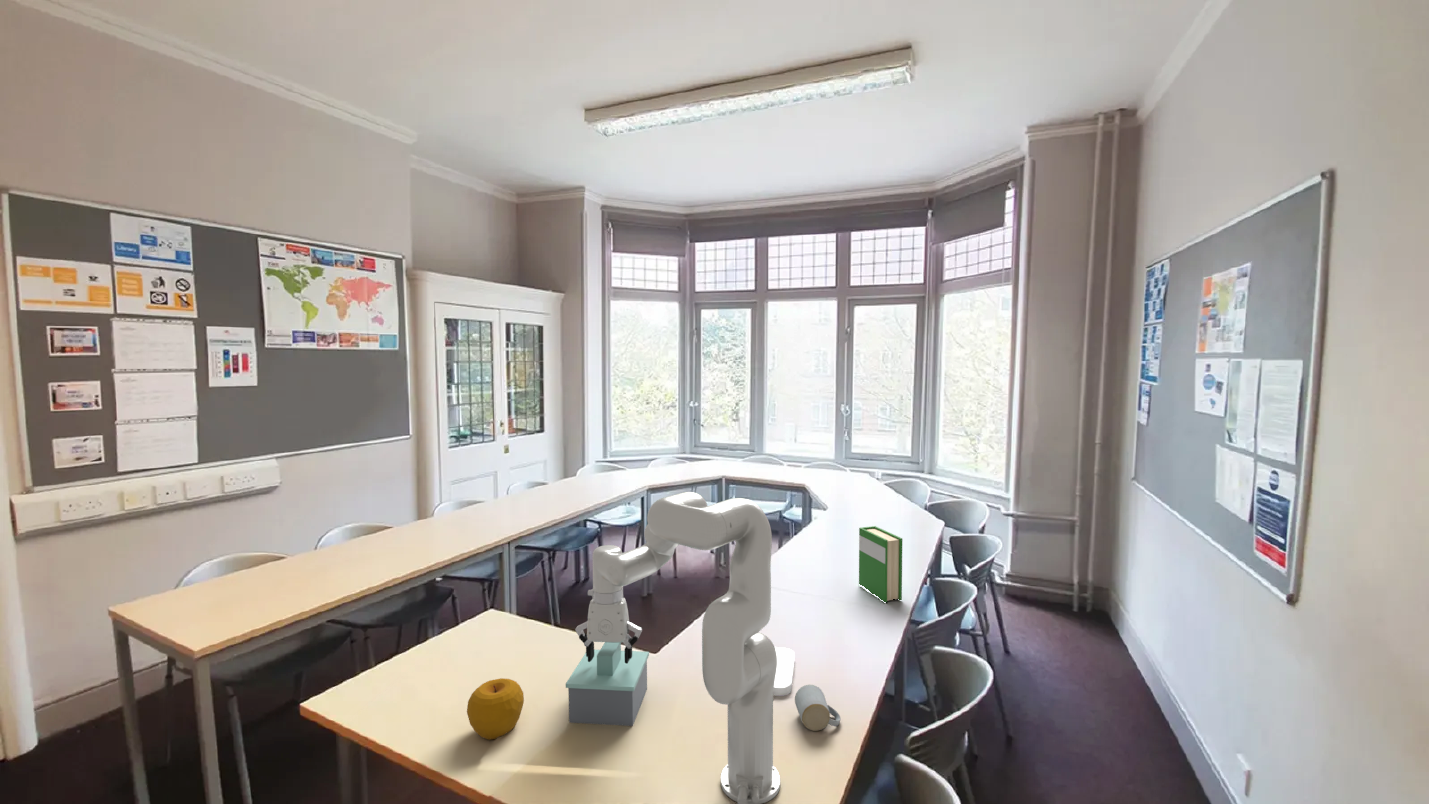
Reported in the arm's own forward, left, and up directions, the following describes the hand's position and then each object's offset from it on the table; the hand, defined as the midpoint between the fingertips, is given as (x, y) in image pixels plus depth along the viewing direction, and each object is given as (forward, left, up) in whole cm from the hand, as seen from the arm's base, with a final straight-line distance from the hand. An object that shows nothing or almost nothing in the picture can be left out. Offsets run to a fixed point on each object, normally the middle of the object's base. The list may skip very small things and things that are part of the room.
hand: (609, 660), depth 143 cm
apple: (-11, +25, -13) cm, 30 cm away
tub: (0, 0, -13) cm, 13 cm away
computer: (+21, -37, -14) cm, 45 cm away
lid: (0, 0, -4) cm, 4 cm away
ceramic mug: (-1, -53, -13) cm, 55 cm away
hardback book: (+82, -84, -13) cm, 118 cm away
